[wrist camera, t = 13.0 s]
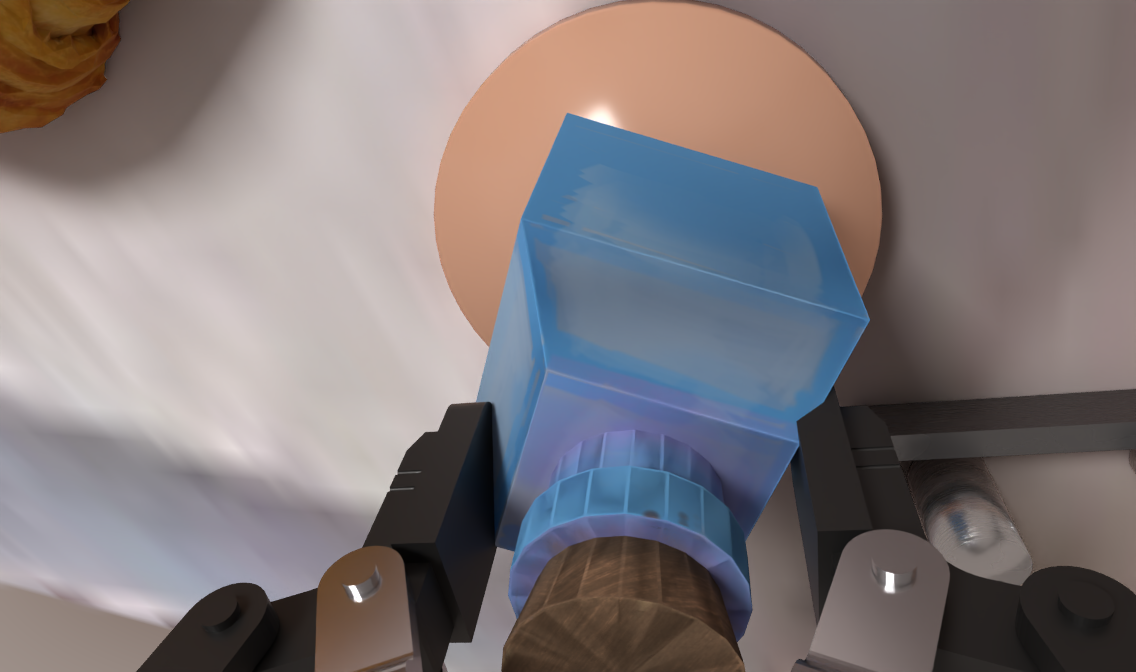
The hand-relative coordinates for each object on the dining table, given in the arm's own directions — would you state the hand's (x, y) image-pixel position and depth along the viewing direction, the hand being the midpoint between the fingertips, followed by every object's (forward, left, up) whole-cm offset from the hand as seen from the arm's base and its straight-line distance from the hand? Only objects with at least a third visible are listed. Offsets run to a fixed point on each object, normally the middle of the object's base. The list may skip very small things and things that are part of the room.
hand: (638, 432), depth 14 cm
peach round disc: (0, 0, -10) cm, 10 cm away
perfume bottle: (0, 0, -7) cm, 7 cm away
